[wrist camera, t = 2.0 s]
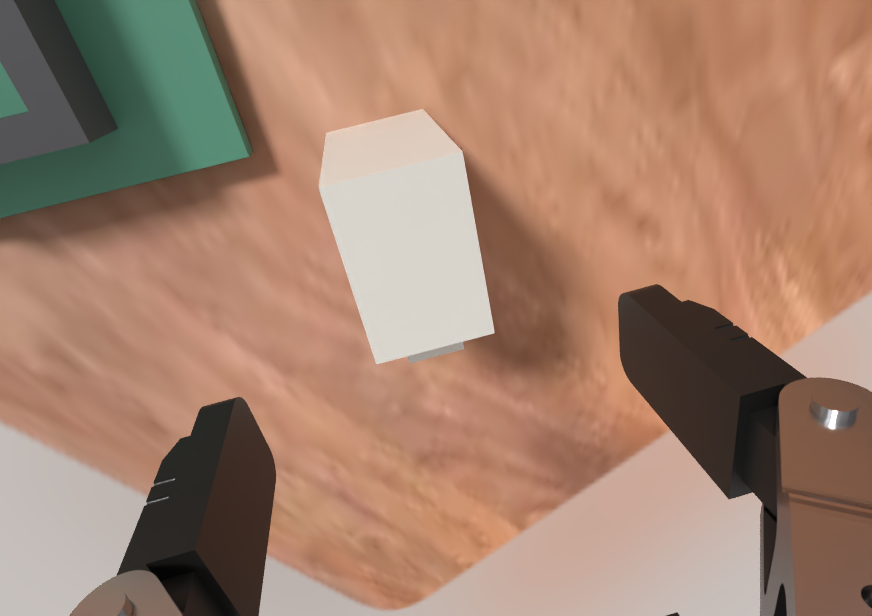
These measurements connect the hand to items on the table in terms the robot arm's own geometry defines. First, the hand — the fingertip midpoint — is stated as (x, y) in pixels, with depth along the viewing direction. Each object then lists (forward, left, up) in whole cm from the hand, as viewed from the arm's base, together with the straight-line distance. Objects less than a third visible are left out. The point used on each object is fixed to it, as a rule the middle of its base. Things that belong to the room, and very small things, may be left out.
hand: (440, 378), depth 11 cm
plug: (0, 0, -13) cm, 13 cm away
